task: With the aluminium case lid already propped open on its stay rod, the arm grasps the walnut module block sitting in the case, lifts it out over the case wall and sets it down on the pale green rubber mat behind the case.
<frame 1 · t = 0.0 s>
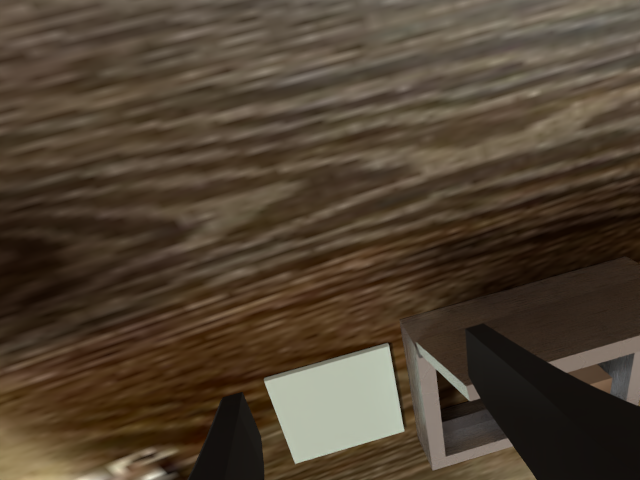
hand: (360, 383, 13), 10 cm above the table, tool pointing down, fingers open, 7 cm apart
aluminium case: (514, 353, 27), on the table
walnut module block: (513, 352, 28), resting in aluminium case
green rubber mat: (338, 404, 27), on the table
propped lid: (514, 287, 25), resting on aluminium case
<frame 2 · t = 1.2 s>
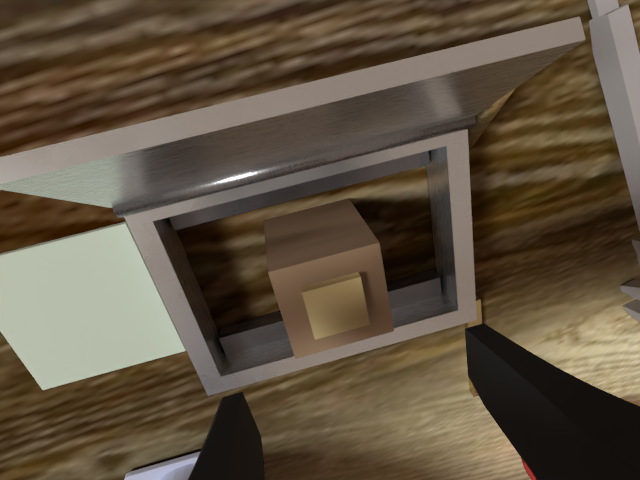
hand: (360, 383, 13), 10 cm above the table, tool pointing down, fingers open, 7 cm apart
aluminium case: (315, 247, 21), on the table
walnut module block: (315, 247, 22), resting in aluminium case
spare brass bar: (470, 342, 27), on the table
green rubber mat: (83, 309, 21), on the table
propped lid: (291, 147, 19), resting on aluminium case
caliper: (609, 175, 23), on the table
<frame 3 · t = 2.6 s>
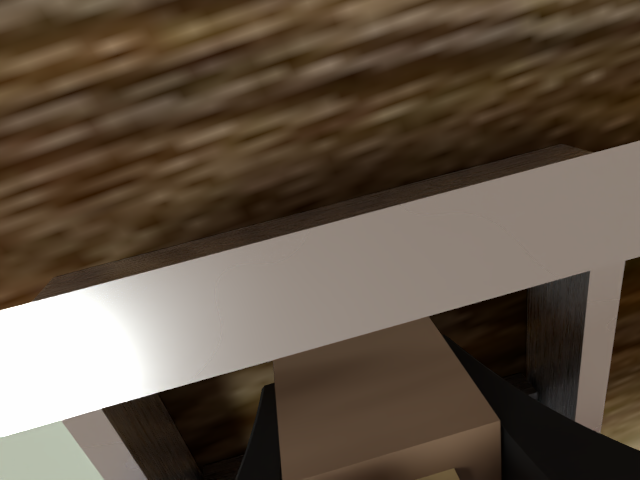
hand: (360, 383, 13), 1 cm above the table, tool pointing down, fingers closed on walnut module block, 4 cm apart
aluminium case: (350, 353, 14), on the table
walnut module block: (350, 352, 14), resting in aluminium case, touching gripper
propped lid: (316, 208, 11), resting on aluminium case
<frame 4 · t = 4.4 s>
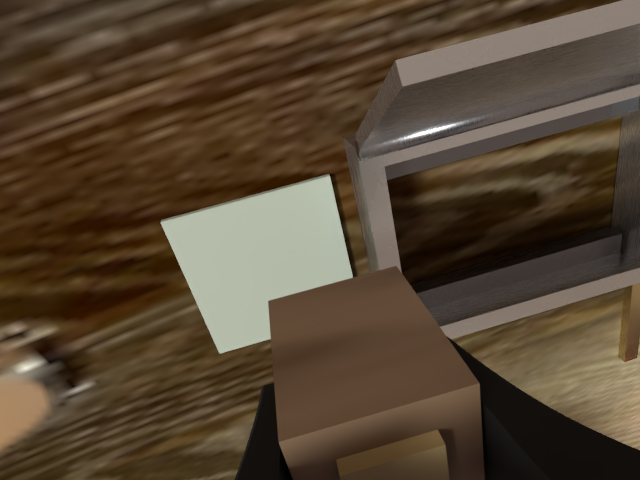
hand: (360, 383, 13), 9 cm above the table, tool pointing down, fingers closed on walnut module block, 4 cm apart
aluminium case: (501, 203, 21), on the table
walnut module block: (345, 334, 15), point 7 cm above the table, touching gripper
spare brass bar: (624, 306, 26), on the table
green rubber mat: (270, 268, 20), on the table
propped lid: (498, 94, 19), resting on aluminium case
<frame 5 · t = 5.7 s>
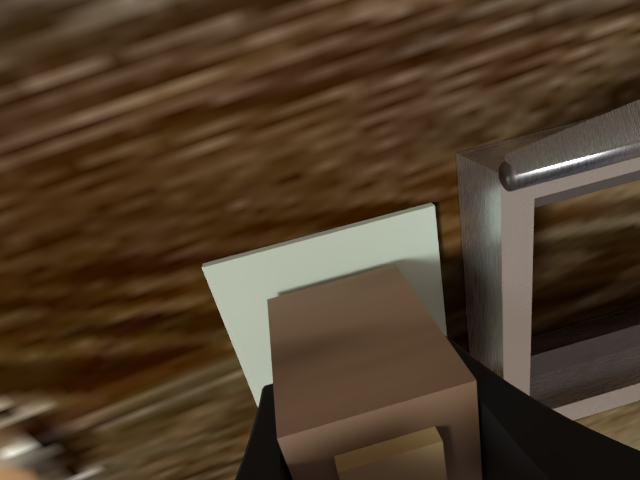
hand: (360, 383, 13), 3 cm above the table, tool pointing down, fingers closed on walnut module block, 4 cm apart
walnut module block: (343, 333, 15), point 1 cm above the table, touching gripper
green rubber mat: (340, 325, 15), on the table
when the fingers open (3 cm above the table, at t = 6.3 s): walnut module block stays where it is, resting on green rubber mat.
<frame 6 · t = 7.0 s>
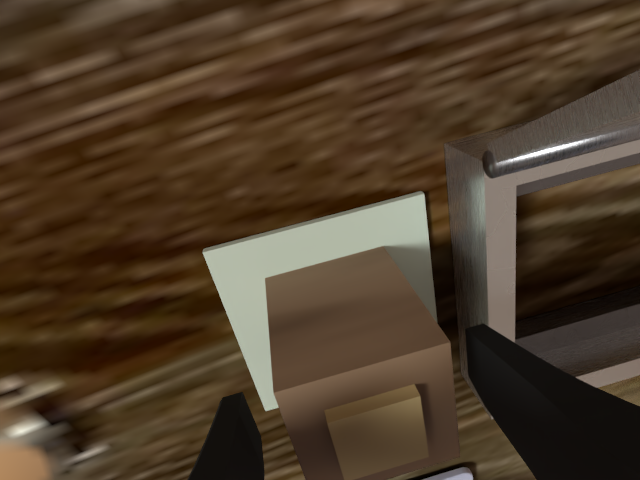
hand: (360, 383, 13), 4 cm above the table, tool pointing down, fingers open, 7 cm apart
aluminium case: (624, 228, 17), on the table
walnut module block: (336, 310, 16), resting on green rubber mat
green rubber mat: (335, 308, 16), on the table
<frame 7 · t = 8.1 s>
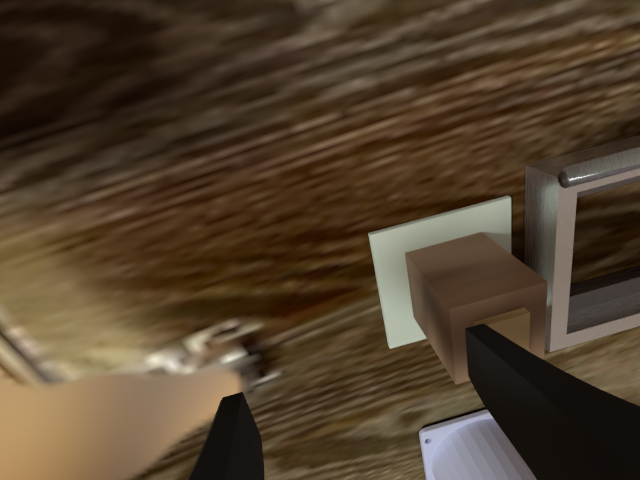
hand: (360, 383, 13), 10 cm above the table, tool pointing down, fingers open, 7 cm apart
walnut module block: (446, 276, 23), resting on green rubber mat
green rubber mat: (444, 275, 24), on the table
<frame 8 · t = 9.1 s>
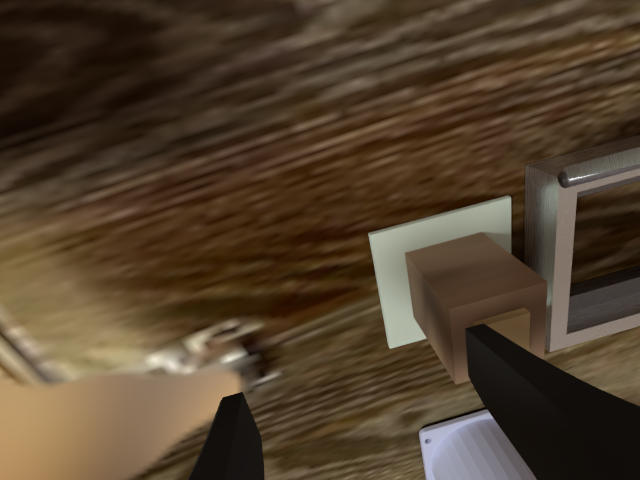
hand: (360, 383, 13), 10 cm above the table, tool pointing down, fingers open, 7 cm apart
walnut module block: (446, 276, 23), resting on green rubber mat
green rubber mat: (444, 275, 24), on the table
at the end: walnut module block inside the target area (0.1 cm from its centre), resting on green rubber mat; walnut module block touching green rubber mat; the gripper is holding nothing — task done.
